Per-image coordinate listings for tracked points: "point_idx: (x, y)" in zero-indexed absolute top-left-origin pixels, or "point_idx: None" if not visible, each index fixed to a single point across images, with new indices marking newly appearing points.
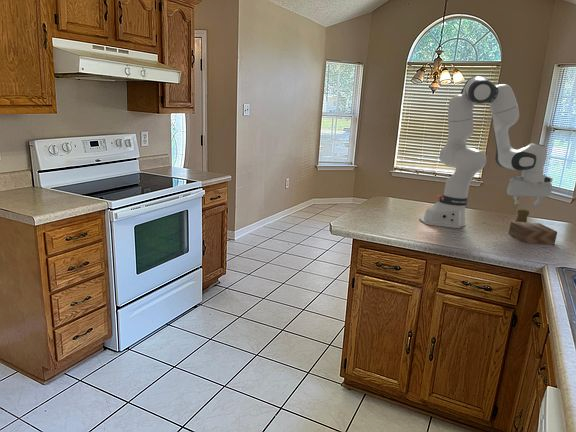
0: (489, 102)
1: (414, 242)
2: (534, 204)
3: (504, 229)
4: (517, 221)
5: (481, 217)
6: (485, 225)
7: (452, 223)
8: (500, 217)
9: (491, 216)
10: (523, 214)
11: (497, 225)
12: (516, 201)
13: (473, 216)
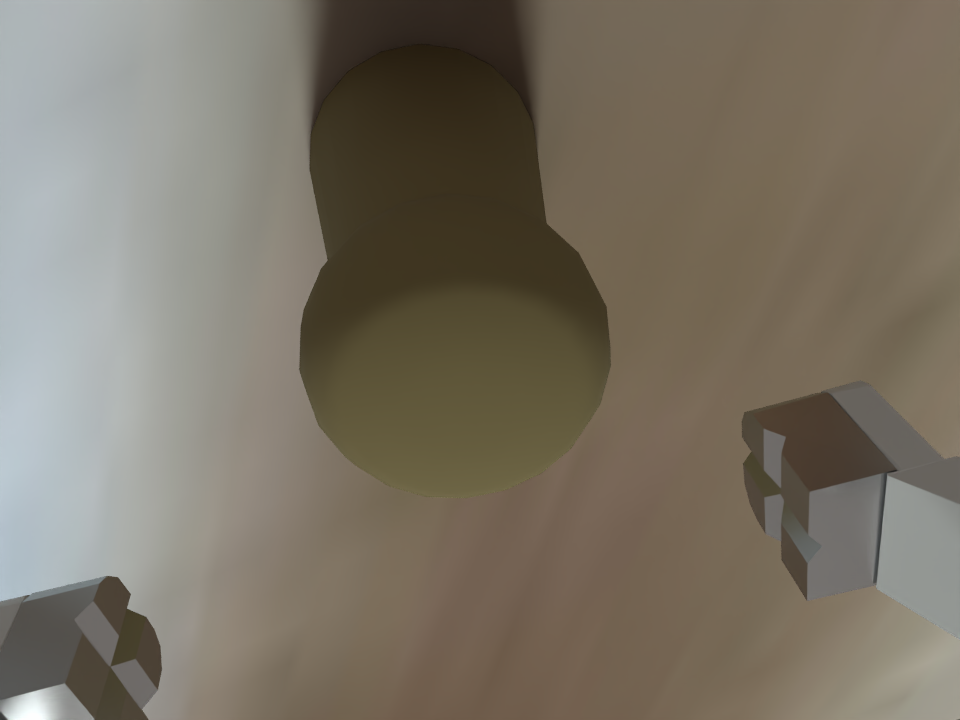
0: None
1: None
2: (125, 627)
3: (709, 75)
4: (534, 177)
5: (781, 601)
6: (956, 199)
7: None
8: (510, 708)
9: (616, 697)
10: (481, 203)
11: (726, 301)
12: (929, 461)
13: (874, 596)
